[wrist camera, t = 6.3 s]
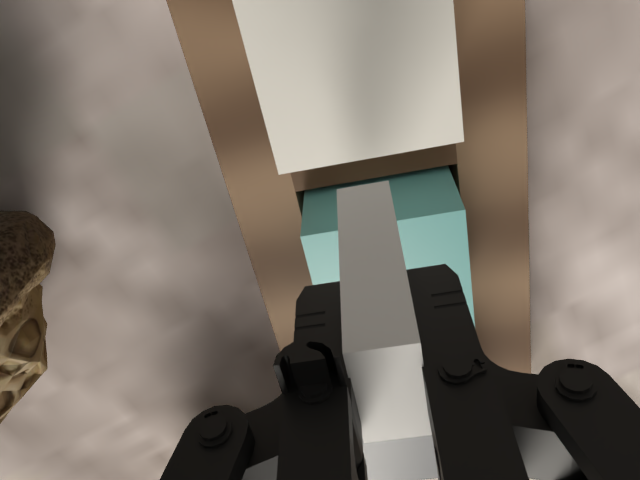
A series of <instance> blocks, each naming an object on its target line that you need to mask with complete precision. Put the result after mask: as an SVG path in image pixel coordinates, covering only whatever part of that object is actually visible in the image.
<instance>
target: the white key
mask: <svg viewBox="0 0 640 480" xmlns="http://www.w3.org/2000/svg"><path fill="white" fill-rule="evenodd" d="M232 2H233V6H234V10H235V13H236V17H237V21H238V25H239V28H240V32H241V36H242V40H243V43H244V47H245V51H246V55H247V58H248V62H249V66H250V69H251V73H252V77H253V81H254V84H255V88H256V92H257V96H258V99H259V103H260V107H261V110H262V114H263V118H264V122H265V125H266V129H267V133H268V137H269V140H270V144H271V148H272V152H273V155H274V159H275V163H276V166H277V170H278V174H279V175H280V174H286V173H292V172H297V171H303V170H308V169H314V168H320V167H325V166H331V165H336V164H342V163H348V162H353V161H359V160H364V159H370V158H376V157H381V156H387V155H392V154H398V153H404V152H409V151H415V150H420V149H426V148H432V147H437V146H443V145H448V144H454V143H460V142H464V132H463V120H462V107H461V94H460V81H459V68H458V55H457V42H456V30H455V17H454V4H453V0H232Z"/></svg>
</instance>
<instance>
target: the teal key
mask: <svg viewBox="0 0 640 480" xmlns="http://www.w3.org/2000/svg"><path fill="white" fill-rule="evenodd" d="M388 180H389V185H390V190H391V195H392V200H393V205H394V210H395V215H396V221H397V226H398V231H399V236H400V241H401V246H402V251H403V256H404V261H405V266H406V270H407V269H414V268H421V267H427V266H434V265H440V264H446V265H447V266H449V267H450V268H451V269H452V270H453V271H454V272H455V273H456V274H457V275H458V276H459V279H460V283H461V286H462V289H463V293H464V295H465V298H466V301H467V305H468V308H469V311H470V314H471V317H472V320H473V323H474V326H475V320H474V308H473V296H472V284H471V271H470V259H469V247H468V235H467V223H466V210H465V207H464V205H463V202H462V200H461V197H460V194H459V192H458V189H457V187H456V184H455V182H454V179H453V177H452V174H451V172H450V169H449V166H448V165H446V166H441V167H435V168H429V169H423V170H418V171H412V172H406V173H400V174H395V175H389V176H383V177H377V178H372V179H366V180H360V181H354V182H349V183H343V184H337V185H331V186H326V187H320V188H314V189H308V190H305V191H304V201H303V212H302V223H301V233H300V238H301V242H302V245H303V249H304V253H305V257H306V261H307V265H308V268H309V272H310V276H311V280H312V284H313V285H317V284H323V283H330V282H337V281H340V272H339V244H338V216H337V189H341V188H347V187H353V186H358V185H364V184H370V183H376V182H382V181H388Z"/></svg>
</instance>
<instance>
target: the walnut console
mask: <svg viewBox="0 0 640 480" xmlns="http://www.w3.org/2000/svg"><path fill="white" fill-rule="evenodd" d="M166 1H167V4H168V7H169V10H170V13H171V16H172V19H173V22H174V26H175V29H176V32H177V35H178V38H179V41H180V44H181V47H182V50H183V53H184V56H185V59H186V63H187V66H188V69H189V72H190V75H191V78H192V81H193V84H194V87H195V90H196V93H197V96H198V100H199V103H200V106H201V109H202V112H203V115H204V118H205V121H206V124H207V127H208V130H209V133H210V137H211V140H212V143H213V146H214V149H215V152H216V155H217V158H218V161H219V164H220V167H221V170H222V173H223V177H224V180H225V183H226V186H227V189H228V192H229V195H230V198H231V201H232V204H233V207H234V210H235V214H236V217H237V220H238V223H239V226H240V229H241V232H242V235H243V238H244V241H245V244H246V247H247V251H248V254H249V257H250V260H251V263H252V266H253V269H254V272H255V275H256V278H257V281H258V284H259V288H260V291H261V294H262V297H263V300H264V303H265V306H266V309H267V312H268V315H269V318H270V321H271V325H272V328H273V331H274V334H275V337H276V340H277V343H278V346H279V349H280V352H281V350H282V349H283V348H284V347H286V346H287V345H289V344H291V343H292V342H293V341H294V331H295V328H294V326H295V310H296V300H297V298H298V297H299V295H300V294H301V292H302V290H303V289H304V287H305V286H310V285H313V284H312V280H311V276H310V272H309V268H308V265H307V261H306V257H305V253H304V249H303V245H302V242H301V238H300V233H301V223H302V212H303V201H304V191H305V190H308V189H314V188H320V187H326V186H331V185H337V184H343V183H349V182H354V181H360V180H366V179H372V178H377V177H383V176H389V175H395V174H400V173H406V172H412V171H418V170H423V169H429V168H435V167H441V166H446V165H448V166H449V169H450V172H451V174H452V177H453V179H454V182H455V184H456V187H457V189H458V192H459V194H460V197H461V200H462V202H463V205H464V207H465V210H466V223H467V235H468V247H469V259H470V271H471V284H472V296H473V308H474V320H475V330H476V333H477V336H478V339H479V342H480V345H481V348H482V350H483V352H484V354H485V355H486V356H487V357H488V358H489V359H490V360H491V361H492V362H494V363H495V364H497V365H498V366H500V367H503V368H505V369H507V370H511V371H516V372H521V373H529V374H531V346H530V285H529V223H528V161H527V99H526V37H525V0H453V4H454V17H455V30H456V42H457V55H458V68H459V81H460V94H461V107H462V120H463V132H464V142H460V143H454V144H448V145H443V146H437V147H432V148H426V149H420V150H415V151H409V152H404V153H398V154H392V155H387V156H381V157H376V158H370V159H364V160H359V161H353V162H348V163H342V164H336V165H331V166H325V167H320V168H314V169H308V170H303V171H297V172H292V173H286V174H280V175H279V174H278V170H277V166H276V163H275V159H274V155H273V152H272V148H271V144H270V140H269V137H268V133H267V129H266V125H265V122H264V118H263V114H262V110H261V107H260V103H259V99H258V96H257V92H256V88H255V84H254V81H253V77H252V73H251V69H250V66H249V62H248V58H247V55H246V51H245V47H244V43H243V40H242V36H241V32H240V28H239V25H238V21H237V17H236V13H235V10H234V6H233V2H232V0H166Z"/></svg>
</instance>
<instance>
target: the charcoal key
mask: <svg viewBox="0 0 640 480" xmlns="http://www.w3.org/2000/svg"><path fill="white" fill-rule="evenodd" d="M362 440H363V437H362ZM363 453H364V457H365V461H366V465H367V476H368V480H425V479H434V478H438V472H437V465H436V458H435V450H434V443H433V437H432V435H427V436H419V437H411V438H402V439H394V440H385V441H377V442H368V443H364V441H363Z"/></svg>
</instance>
